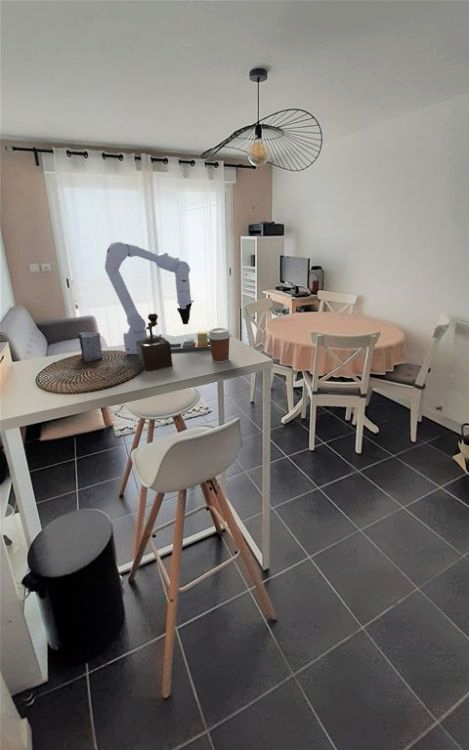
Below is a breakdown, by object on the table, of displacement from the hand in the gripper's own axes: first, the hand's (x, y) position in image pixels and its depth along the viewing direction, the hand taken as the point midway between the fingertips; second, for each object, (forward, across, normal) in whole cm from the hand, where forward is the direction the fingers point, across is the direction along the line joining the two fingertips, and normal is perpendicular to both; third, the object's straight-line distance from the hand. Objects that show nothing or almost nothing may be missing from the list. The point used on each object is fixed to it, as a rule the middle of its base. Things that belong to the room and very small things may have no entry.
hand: (186, 321), depth 157 cm
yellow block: (+10, -8, -7) cm, 14 cm away
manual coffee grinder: (+10, -23, +12) cm, 27 cm away
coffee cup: (+10, -24, -14) cm, 30 cm away
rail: (+10, -8, -1) cm, 12 cm away
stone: (+10, -13, +38) cm, 41 cm away
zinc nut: (+10, -8, -1) cm, 13 cm away
